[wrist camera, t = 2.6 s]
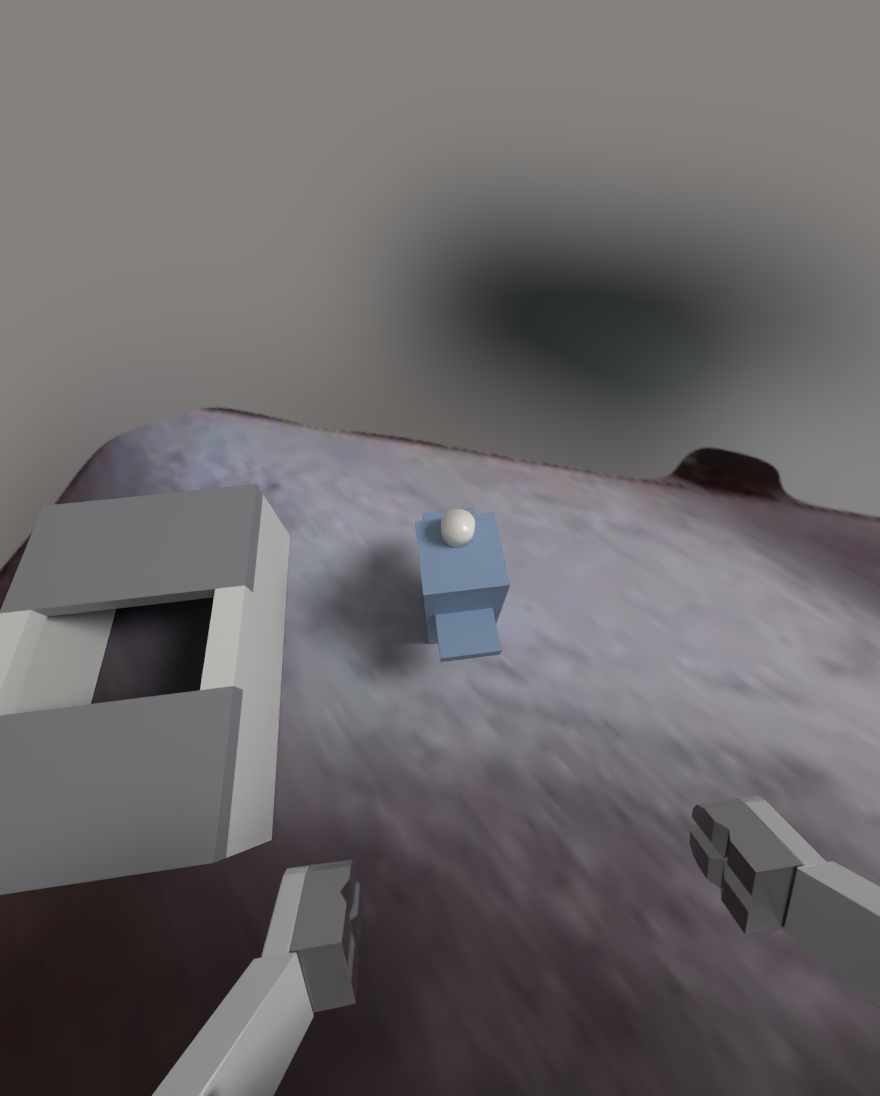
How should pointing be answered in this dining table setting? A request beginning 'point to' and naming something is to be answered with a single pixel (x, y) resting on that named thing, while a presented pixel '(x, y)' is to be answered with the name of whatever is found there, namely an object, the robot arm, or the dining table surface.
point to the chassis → (150, 722)
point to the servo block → (462, 582)
